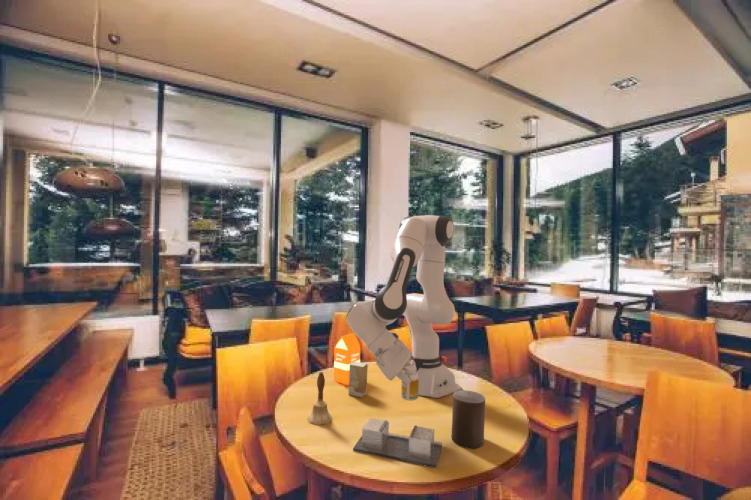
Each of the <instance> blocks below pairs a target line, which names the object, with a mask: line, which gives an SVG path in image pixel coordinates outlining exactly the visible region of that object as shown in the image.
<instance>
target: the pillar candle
mask: <svg viewBox="0 0 751 500" xmlns="http://www.w3.org/2000/svg"><path fill="white" fill-rule="evenodd" d="M452 394H453V396H452V413H451V414H452V416H451V417H452V420H451V435H450V436H451V440H452V442H453V443H454V444H455V445H457V446H459V447H461V448H466V449H469V450H470V449H479V448H481V447H483V446H484V444H485V418H486V417H485V416H486V397H485V396H484V395H483V394H482V393H479V392H477V391H473V390H466V389H465V390H463V389H461V390H459V391H456V392H453V393H452Z"/></svg>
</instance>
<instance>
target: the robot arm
mask: <svg viewBox="0 0 751 500" xmlns="http://www.w3.org/2000/svg"><path fill="white" fill-rule="evenodd" d="M398 228H399V230H398V231H397V233H396V236H395V238H394V240H393V243H392V247H391V252H390V257H391V260H392V262H393V266H392V268H391V271H390V275H389V276H388V277H389V278H388V279H387V282H386V284H385V285H384V286H383V287H382V288H380V290H379V292H378V293H377V294H376V295H375V298H373V299H370V300H364V301H357V302H355V303H354V304H353V305H352V306H351V307H350V309H349V310H348V311H347V313H346V317H345V319H346V321H345V322H346V323H347V325H348V327H349V328H350V329H351V330H352V333H354V334H355V336H356V338H357V337H358V339H360V340H361V341H362V342H363V343H364V345H365V347H366V348H367V350H368V351H369V352H370V353H371V355H373V357H375V363H376V365H377V368H379V369H380V372H382V374H383V375H384V376H385V377H386V379H387V380H389V381H392V380H394V379H395V378H396V377H397V378H398V379H399V380H401V382H402V381H404V382H405V383H406V384H407V385H408V384H409V383H410V382H411V378H410V377H409V376H407V375H405V374H404V373H405V372H404V367H405V366H409V365H410V366H415V367H416V368H417V371H416V374H418V377H419V382H418V396H423V397H430V398H437V399H439V398H441V397H445V396H447V395H450V394H454V393H455V392H456V391H460V390H462V387H461V385H460V384H459V383H458V382H457V381H456V377H455V374H454V373H453V371H452V370H450V368H448V367H447V366H446V365H444V364H443V363H447V361H448V358H447V357H446V356H445V355H443V356H442V355H440V337H439V335H438V334H437V333H436V331H435V330H434V329H433V327H432V325H442V326H443V325H449V324H450V323H451V322H452V321H453V319H454V318H455V315H456V314H455V313H456V309H455V306H454V305H455V304H454V303H453V302H452V301H451V300H450V297H448V294H447V293H446V289H445V285H444V283H445V282H444V279H445V278H444V277H445V276H444V275H445V264H446V244H447V243H449V242H450V241H451V240H452V238H453V236H454V230H455V229H454V228H455V227H454V222H453V221H452V219H451V218H450V217H449V216H446V215H433V214H425V215H415V216H414V215H409V216H405V217H403V219H402V220H401V221H400V223H399V227H398ZM416 265H417V268H416V276H415V277H416V281H417V282H418V283H419V284H420V285H421V287H422V290H423V293H408V294H407V286H408V283H409V280H410V276H411V274H412V272H413V268H414V267H416ZM401 316H403V317H404V318H405V320H406V321H407V323H408V327H409V330H410V337H411V351H410V349H409V348H408V346H406V344H405V343H404V341H402V339H400V336H399V334H397V332H391V331H389V329H387V326H388V325H391V324H393V323H394V322H395V321H397V319H398V318H400V317H401ZM409 360H410V361H409Z"/></svg>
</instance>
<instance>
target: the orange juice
mask: <svg viewBox="0 0 751 500" xmlns="http://www.w3.org/2000/svg"><path fill="white" fill-rule="evenodd" d="M333 361H334V362H333V382H337V383H341V384H343V385H347V386H349V370H350V364H351V363H352V362H354V361H355V362H361V345H360V343H359V340H358V339H357V335H356V334H355V333H354V332H351V333H348V334H345V335H341V337H340V338H339V340H338V341H337V343H336V345H335V346H334V355H333Z"/></svg>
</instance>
